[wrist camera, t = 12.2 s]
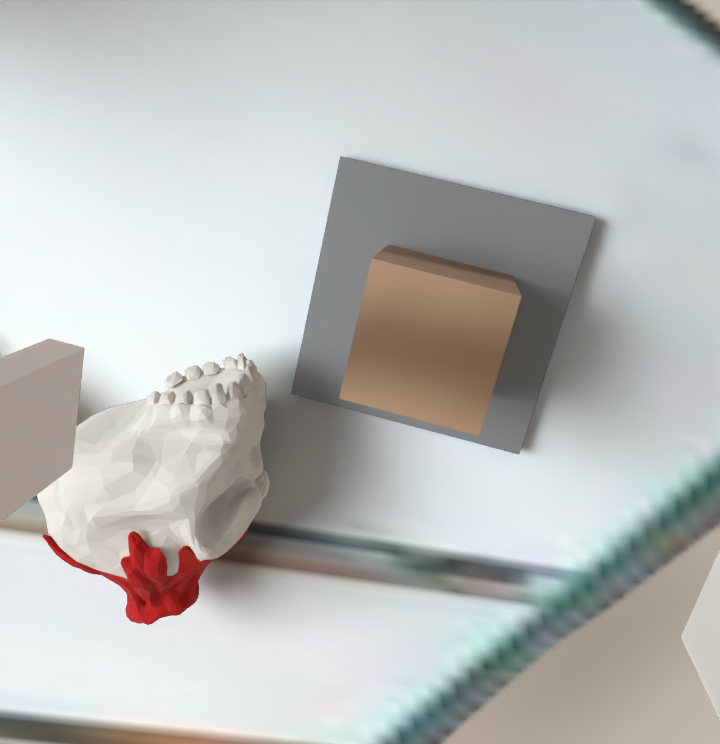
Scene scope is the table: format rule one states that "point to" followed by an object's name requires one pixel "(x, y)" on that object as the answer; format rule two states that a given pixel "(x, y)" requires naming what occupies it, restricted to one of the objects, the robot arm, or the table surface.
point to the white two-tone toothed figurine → (163, 486)
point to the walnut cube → (430, 338)
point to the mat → (453, 242)
